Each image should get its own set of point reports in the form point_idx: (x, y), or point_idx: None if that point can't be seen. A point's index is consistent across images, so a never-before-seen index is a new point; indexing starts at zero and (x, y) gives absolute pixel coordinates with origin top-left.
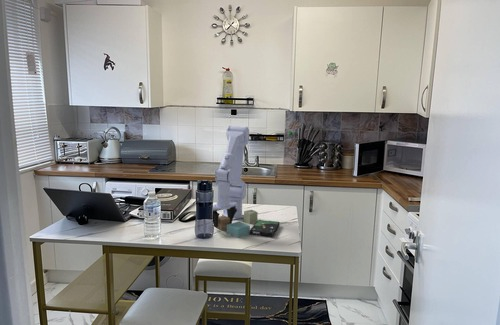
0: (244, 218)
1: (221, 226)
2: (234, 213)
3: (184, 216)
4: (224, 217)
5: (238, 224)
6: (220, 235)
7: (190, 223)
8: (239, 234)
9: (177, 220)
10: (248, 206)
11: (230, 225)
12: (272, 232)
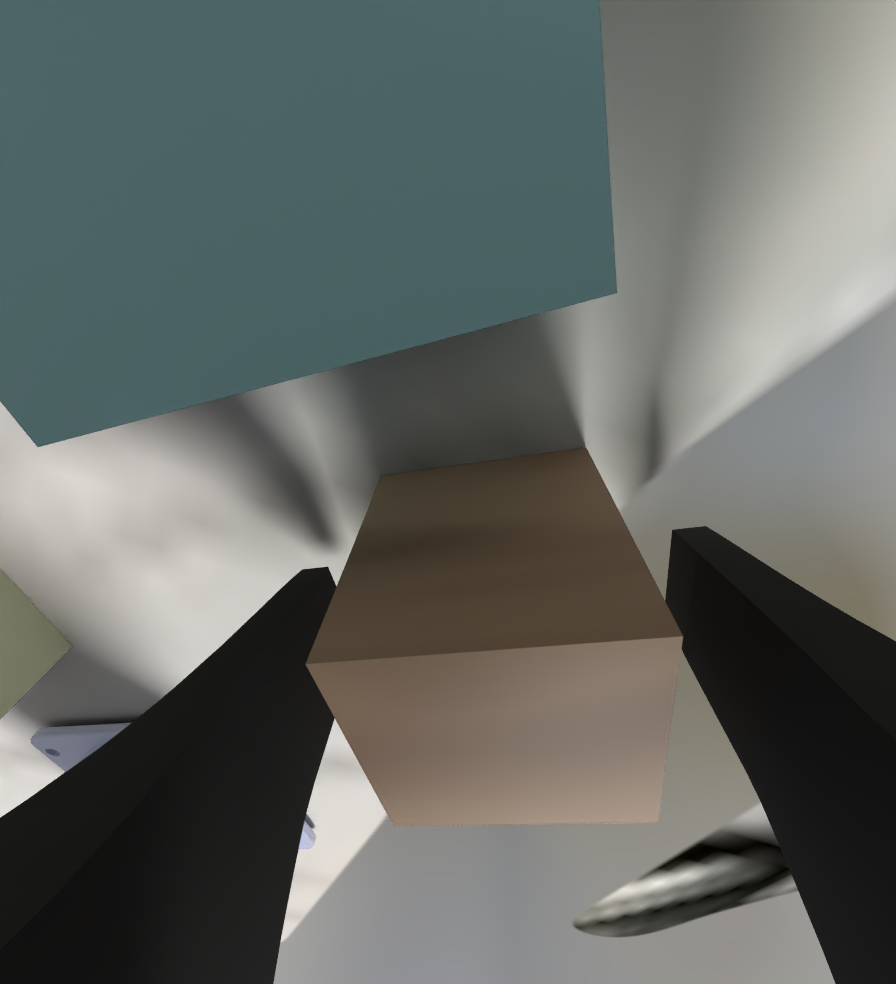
0: (19, 678)
1: (610, 495)
2: (23, 828)
3: (678, 900)
4: (450, 748)
5: (63, 49)
6: (821, 144)
7: None
8: None
9: None
10: None
11: (526, 86)
12: None
